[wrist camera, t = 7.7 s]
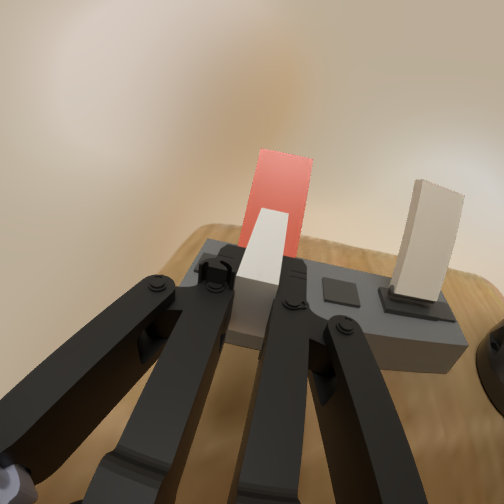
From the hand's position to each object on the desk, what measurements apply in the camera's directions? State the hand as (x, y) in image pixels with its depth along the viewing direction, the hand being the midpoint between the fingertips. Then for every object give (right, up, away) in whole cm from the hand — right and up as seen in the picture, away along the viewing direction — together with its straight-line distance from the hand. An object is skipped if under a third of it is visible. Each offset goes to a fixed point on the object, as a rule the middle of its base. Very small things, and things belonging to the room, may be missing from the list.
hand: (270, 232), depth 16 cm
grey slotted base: (+6, -8, +10) cm, 14 cm away
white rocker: (+14, -5, +8) cm, 16 cm away
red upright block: (0, -3, +8) cm, 9 cm away
